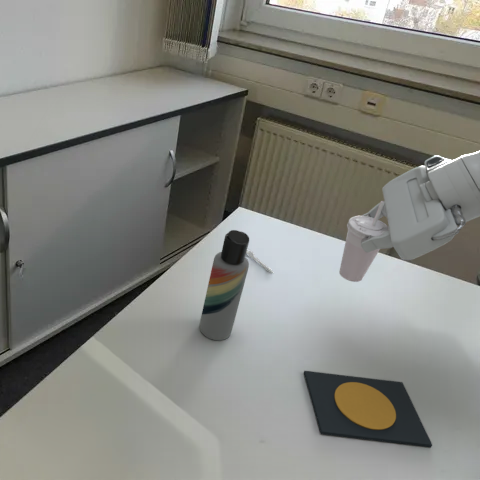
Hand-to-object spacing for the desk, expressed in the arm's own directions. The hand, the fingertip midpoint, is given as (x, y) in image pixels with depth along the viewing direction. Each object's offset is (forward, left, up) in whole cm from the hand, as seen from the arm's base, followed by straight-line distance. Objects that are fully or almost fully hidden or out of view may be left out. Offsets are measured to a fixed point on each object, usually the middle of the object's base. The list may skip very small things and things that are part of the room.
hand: (361, 234), depth 86 cm
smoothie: (-1, 0, -8) cm, 8 cm away
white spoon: (+12, -21, -21) cm, 33 cm away
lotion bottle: (+20, +3, -21) cm, 29 cm away
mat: (-2, +17, -21) cm, 27 cm away
